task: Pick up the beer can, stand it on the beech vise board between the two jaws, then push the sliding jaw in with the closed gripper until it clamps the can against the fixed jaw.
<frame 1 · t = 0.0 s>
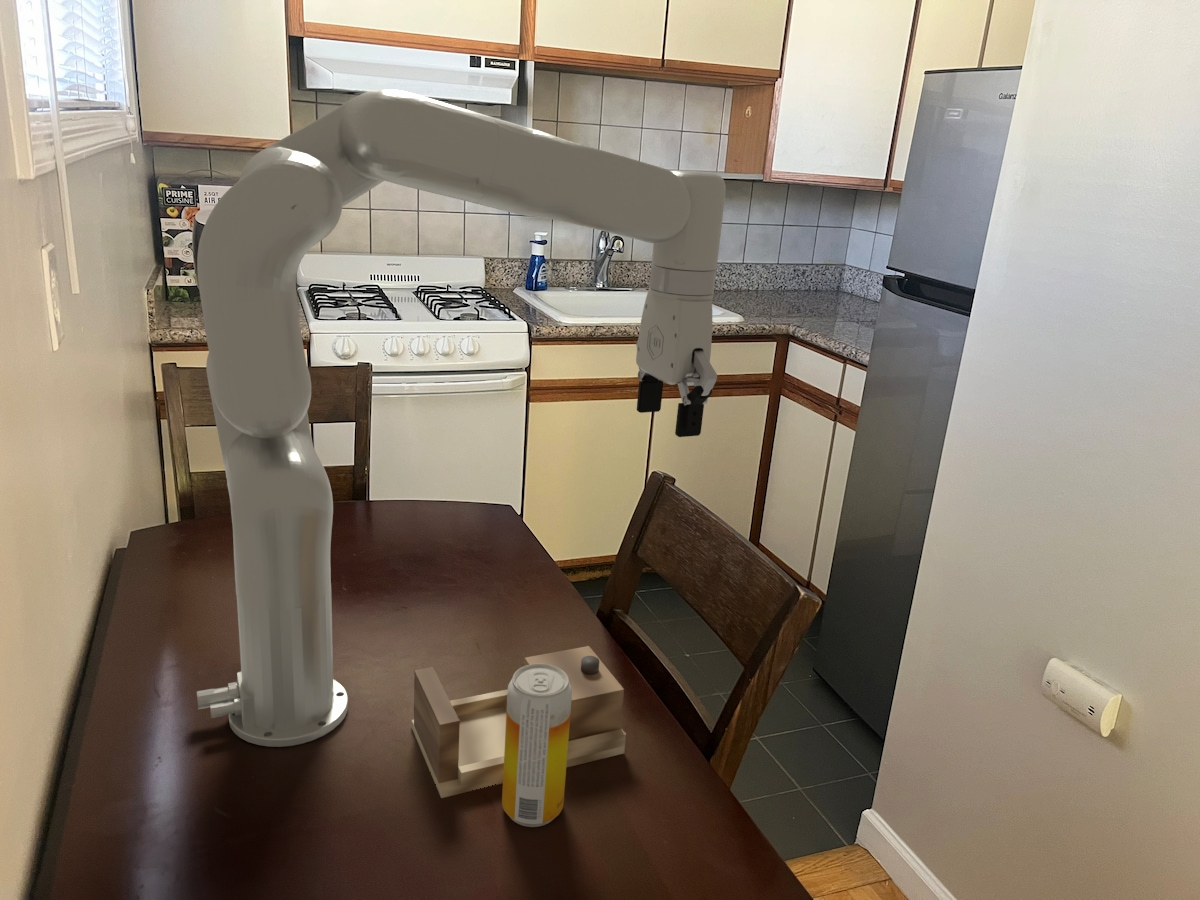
hand: (667, 423, 109), 31 cm above the table, tool pointing down, fingers open, 9 cm apart
beer can: (532, 810, 89), on the table
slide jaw: (571, 691, 100), point 5 cm above the table, slide at 0.0 cm
vise base: (517, 740, 98), on the table
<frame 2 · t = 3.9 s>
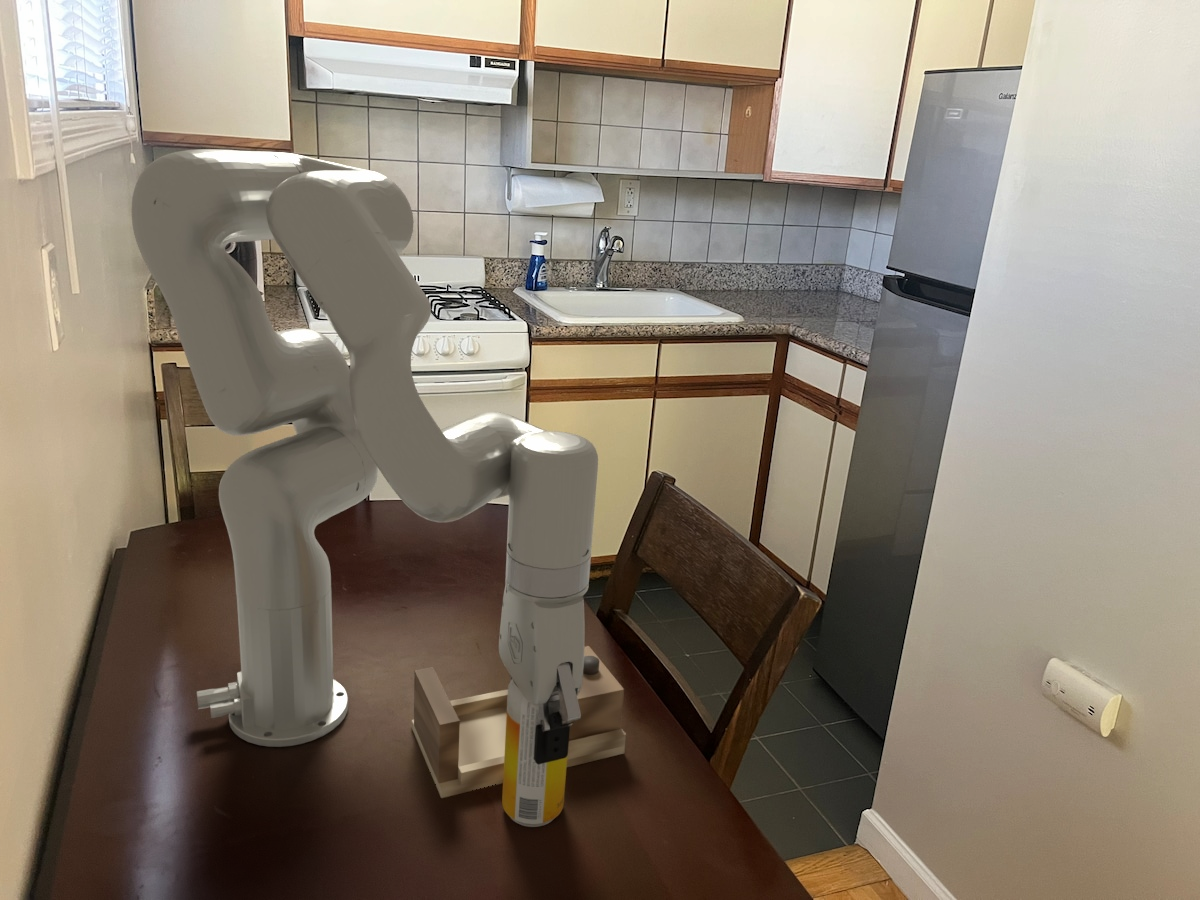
hand: (537, 736, 86), 9 cm above the table, tool pointing down, fingers closed on beer can, 6 cm apart
beer can: (532, 810, 89), on the table, touching gripper
everything else where it was.
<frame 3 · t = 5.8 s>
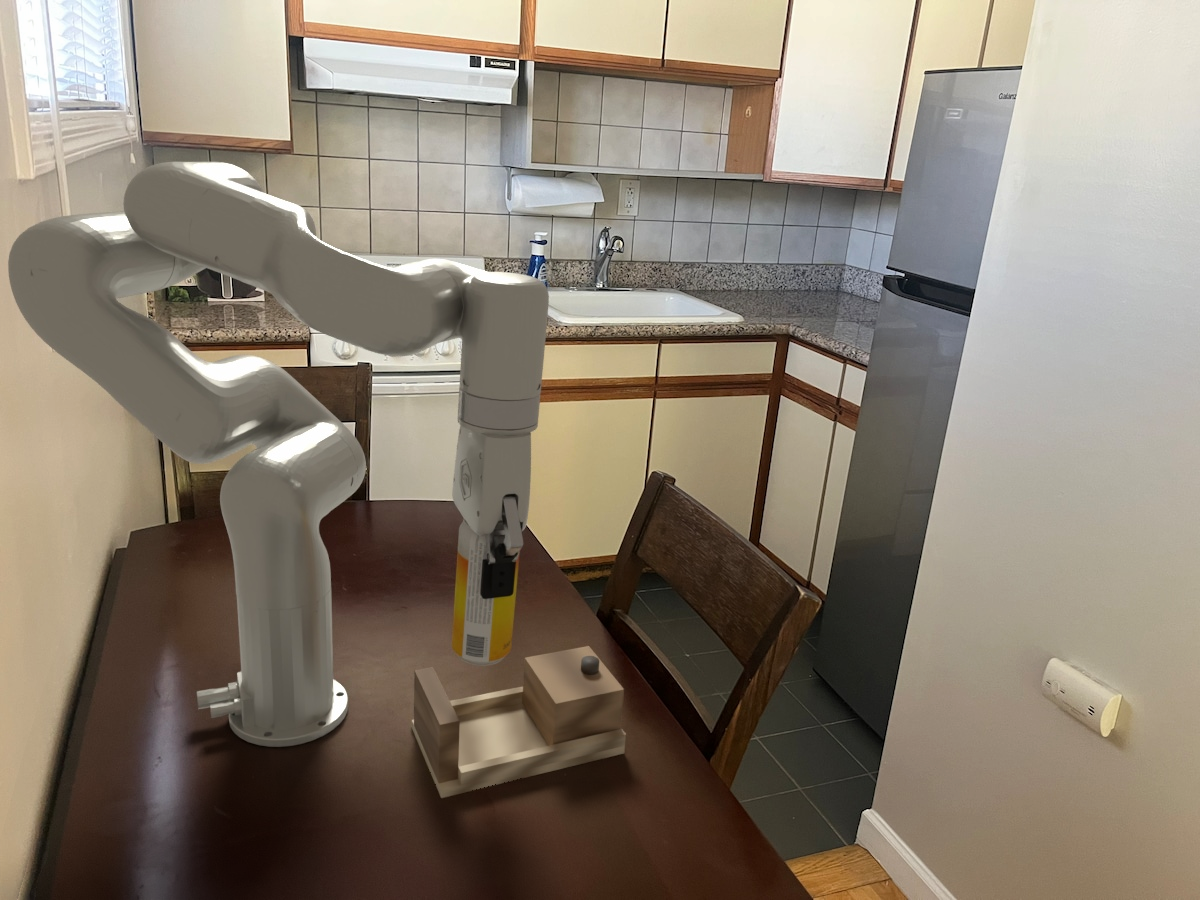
hand: (486, 578, 89), 21 cm above the table, tool pointing down, fingers closed on beer can, 6 cm apart
beer can: (480, 654, 92), point 12 cm above the table, touching gripper
everything else where it was.
when the fingers open (11 cm above the table, at t = 8.0 s): beer can stays where it is, resting on vise base.
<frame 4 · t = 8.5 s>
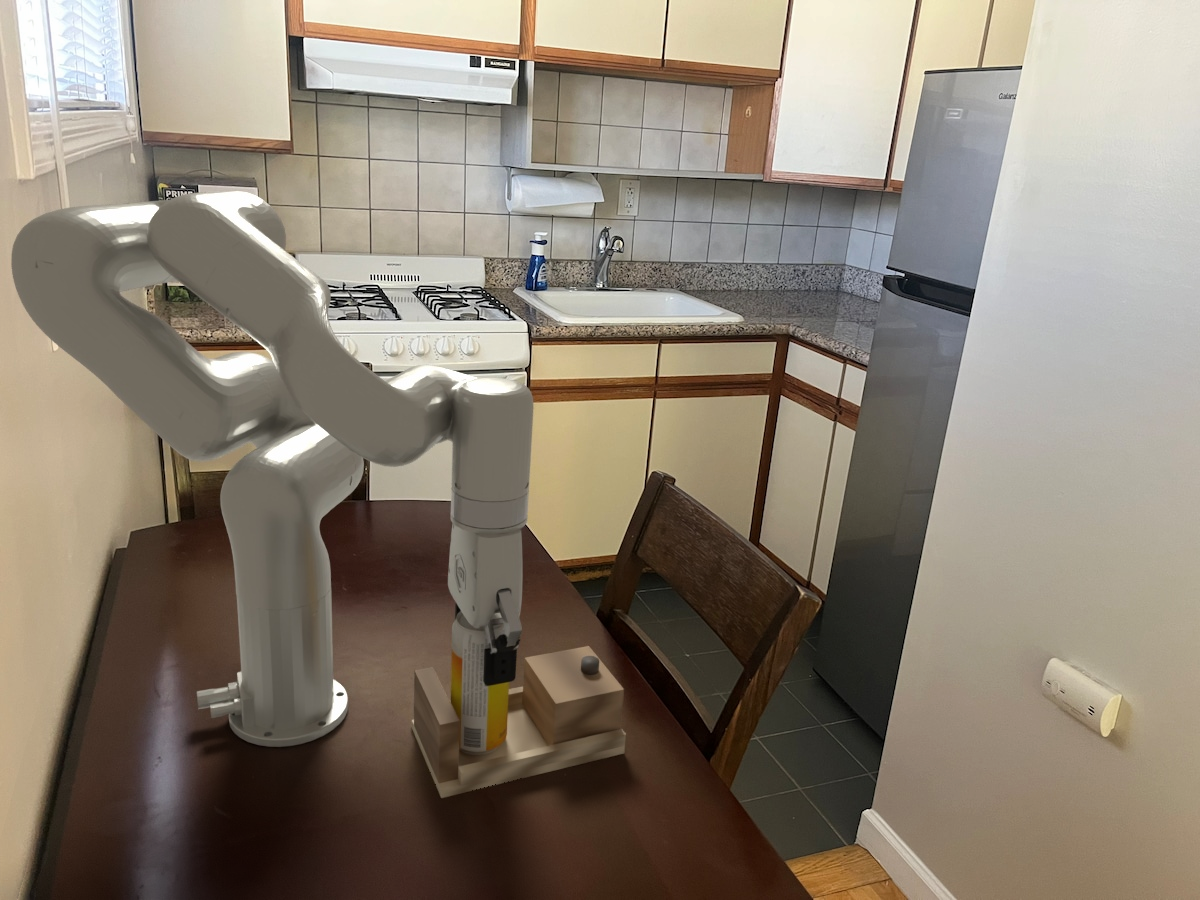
hand: (483, 656, 93), 11 cm above the table, tool pointing down, fingers open, 9 cm apart
beer can: (478, 741, 96), point 1 cm above the table, touching vise base
everything else where it was.
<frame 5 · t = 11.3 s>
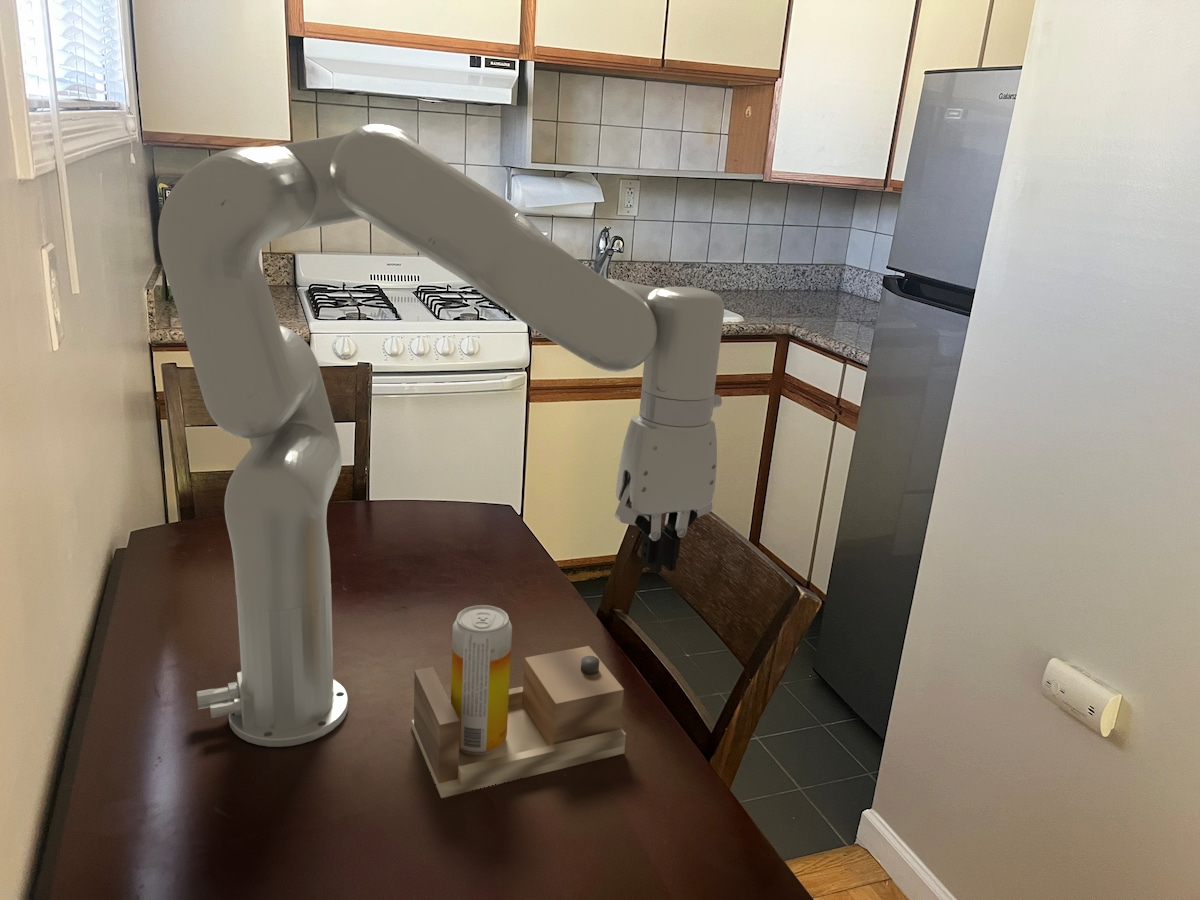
hand: (658, 566, 99), 19 cm above the table, tool pointing down, fingers closed
nothing on the table moved.
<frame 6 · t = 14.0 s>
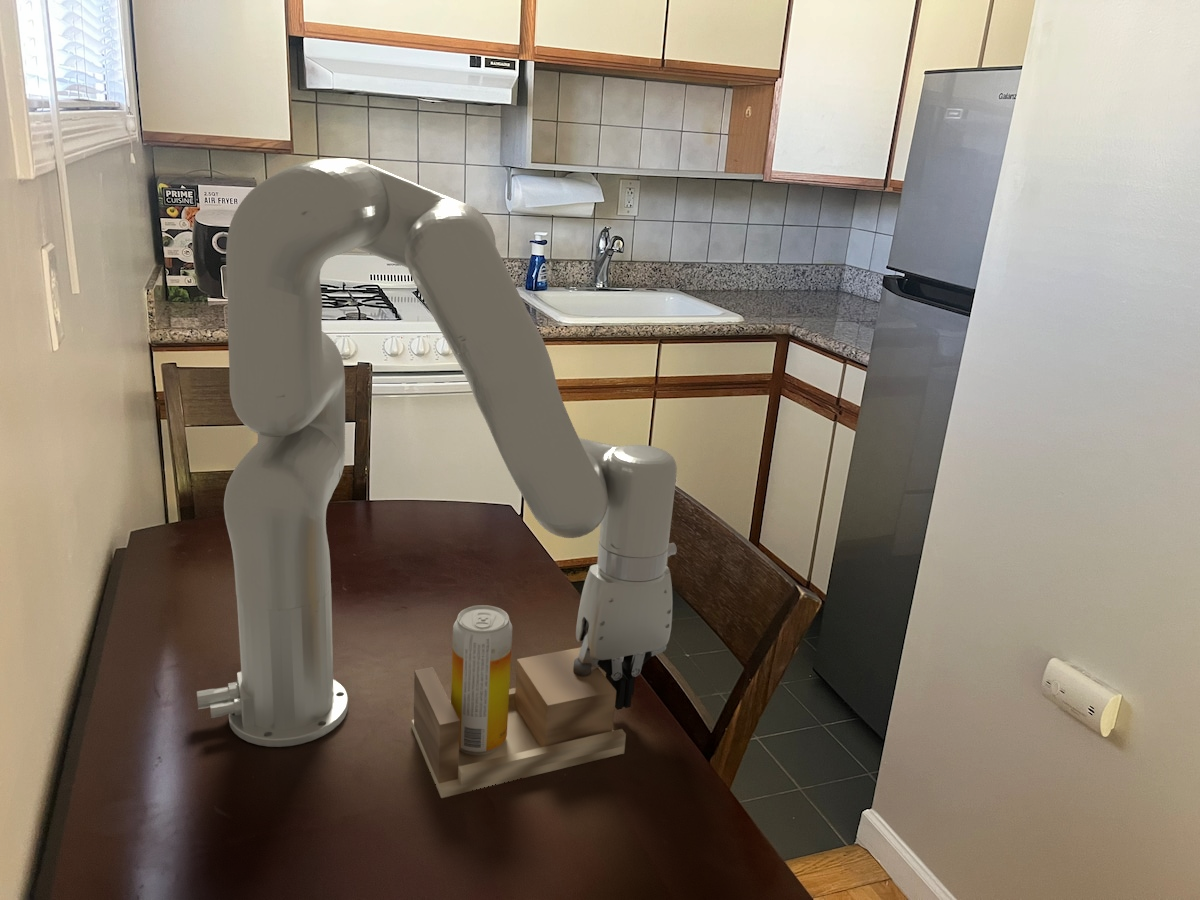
hand: (618, 701, 103), 2 cm above the table, tool pointing down, fingers closed
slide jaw: (564, 693, 99), point 5 cm above the table, slide at 0.9 cm, touching gripper
everything else where it was.
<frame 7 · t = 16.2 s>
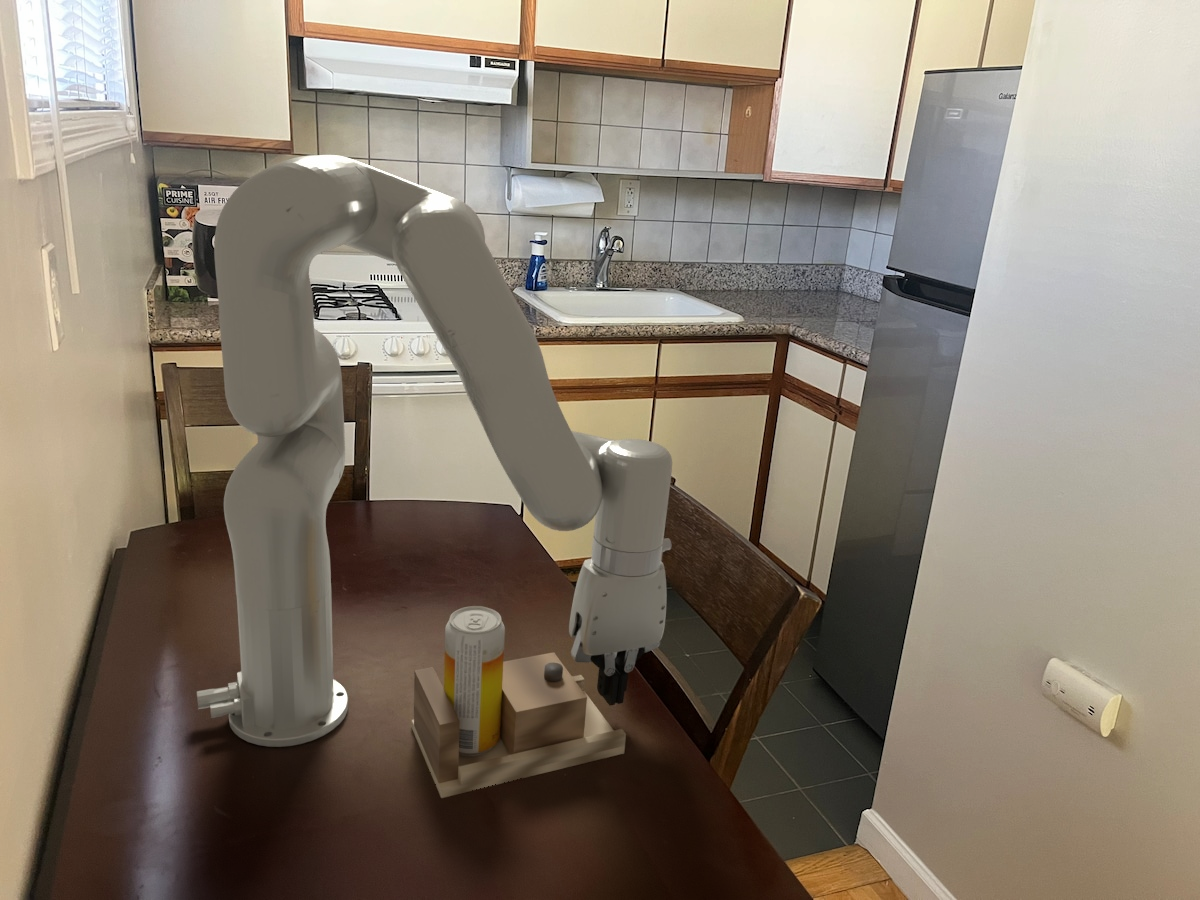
hand: (610, 697, 102), 3 cm above the table, tool pointing down, fingers closed
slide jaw: (534, 699, 98), point 5 cm above the table, slide at 4.4 cm
everything else where it was.
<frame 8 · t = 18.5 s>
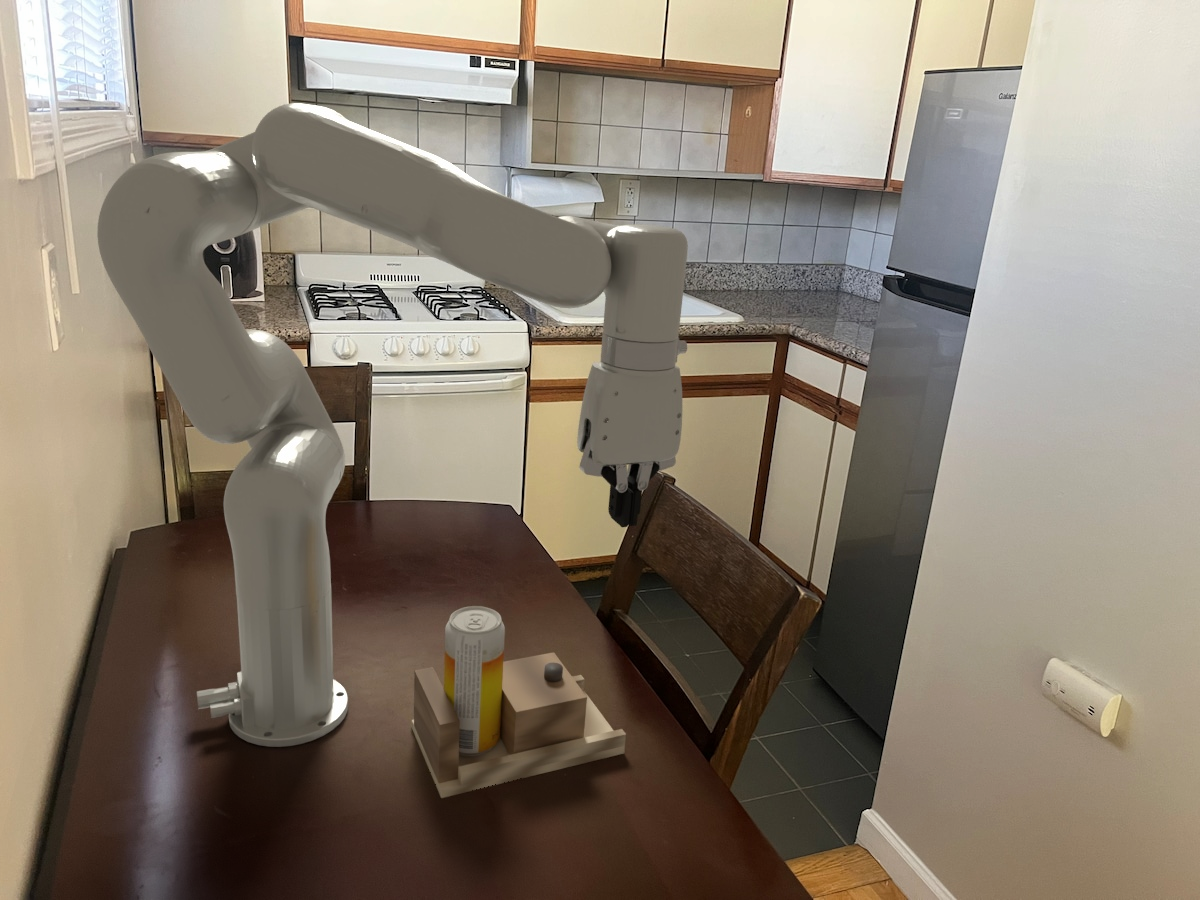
hand: (623, 521, 95), 25 cm above the table, tool pointing down, fingers closed
nothing on the table moved.
at the end: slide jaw slide at 4.4 cm; beer can inside the target area (0.8 cm from its centre), point 0.8 cm above the table; beer can tilted 0° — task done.
